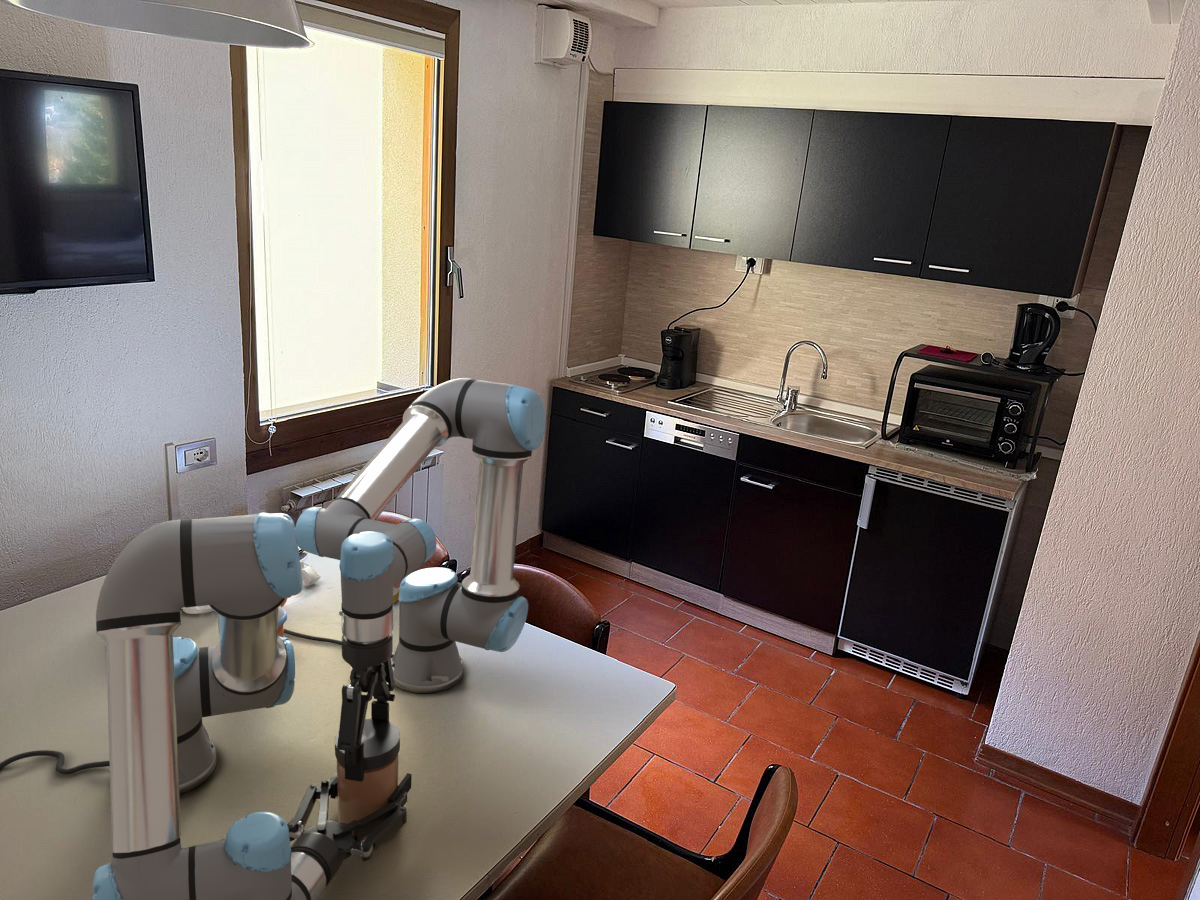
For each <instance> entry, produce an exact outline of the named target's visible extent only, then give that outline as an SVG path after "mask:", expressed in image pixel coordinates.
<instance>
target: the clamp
mask: <svg viewBox="0 0 1200 900" xmlns="http://www.w3.org/2000/svg"><path fill="white" fill-rule="evenodd" d="M300 565H301V577H302V583H303V584H304V585H305V587H309V586H312V585H314V584H316V583H318V582H319V580H320V579H321V578H322V577H321V575H320V574H319V573H318V572H317V570H315V569H314V568H313V566H312V565H310V564H309V565H308V564H307V563H305V562H304V561H303V560H300ZM305 566H306V567H305Z"/></svg>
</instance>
